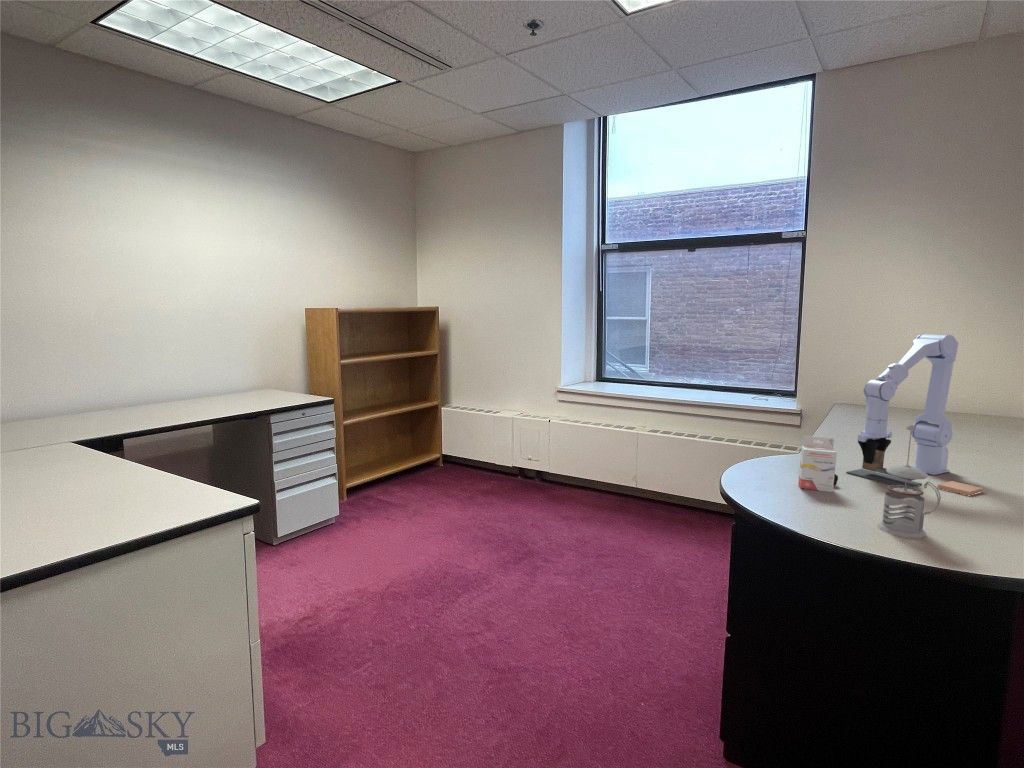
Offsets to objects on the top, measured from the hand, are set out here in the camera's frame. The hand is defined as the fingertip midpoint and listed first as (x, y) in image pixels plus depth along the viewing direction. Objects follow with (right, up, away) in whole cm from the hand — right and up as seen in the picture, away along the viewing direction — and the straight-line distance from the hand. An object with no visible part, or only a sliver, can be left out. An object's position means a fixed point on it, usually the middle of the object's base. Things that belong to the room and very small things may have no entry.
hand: (872, 462), depth 184 cm
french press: (-20, -10, -46) cm, 51 cm away
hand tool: (-18, -5, -1) cm, 19 cm away
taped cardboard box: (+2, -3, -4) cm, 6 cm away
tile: (+15, -5, -10) cm, 19 cm away
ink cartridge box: (-24, -6, -13) cm, 28 cm away
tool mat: (+2, -5, -2) cm, 6 cm away
